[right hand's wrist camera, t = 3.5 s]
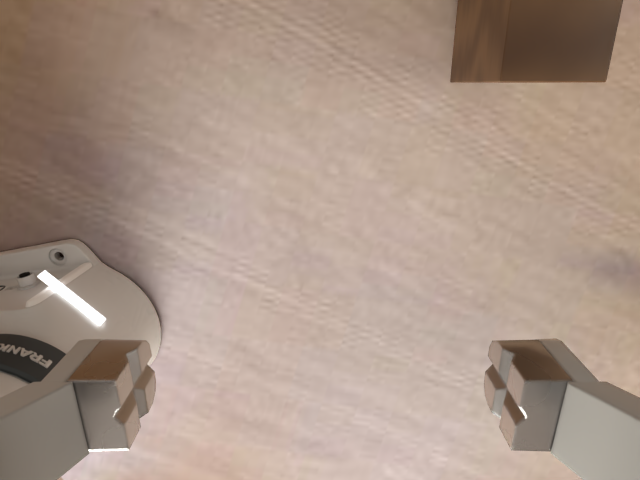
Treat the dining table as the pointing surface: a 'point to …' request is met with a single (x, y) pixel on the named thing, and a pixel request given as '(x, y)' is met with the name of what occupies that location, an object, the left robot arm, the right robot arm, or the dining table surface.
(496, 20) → the box
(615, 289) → the dining table surface
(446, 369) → the dining table surface
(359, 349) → the dining table surface
